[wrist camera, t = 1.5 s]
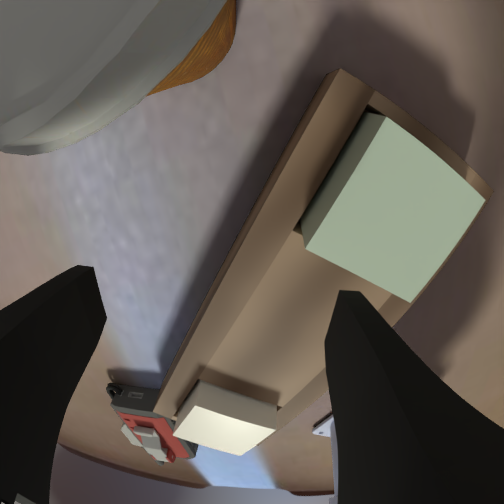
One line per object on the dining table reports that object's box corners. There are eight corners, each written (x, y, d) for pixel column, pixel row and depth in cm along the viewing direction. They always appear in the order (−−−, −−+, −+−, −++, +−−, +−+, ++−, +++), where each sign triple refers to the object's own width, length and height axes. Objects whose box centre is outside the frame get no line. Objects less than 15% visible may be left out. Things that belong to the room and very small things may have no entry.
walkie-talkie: (95, 372, 27) (157, 455, 36) (78, 403, 23) (150, 479, 33) (170, 380, 26) (214, 462, 35) (158, 418, 22) (209, 488, 32)
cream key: (277, 397, 22) (276, 430, 19) (243, 427, 24) (240, 455, 22) (203, 371, 21) (195, 405, 18) (180, 406, 23) (172, 435, 21)
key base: (462, 172, 15) (494, 191, 12) (259, 415, 27) (257, 445, 24) (326, 74, 13) (340, 68, 10) (162, 381, 26) (152, 411, 23)
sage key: (454, 180, 13) (485, 199, 10) (392, 269, 16) (410, 302, 13) (363, 111, 12) (386, 116, 9) (299, 219, 15) (304, 248, 12)
